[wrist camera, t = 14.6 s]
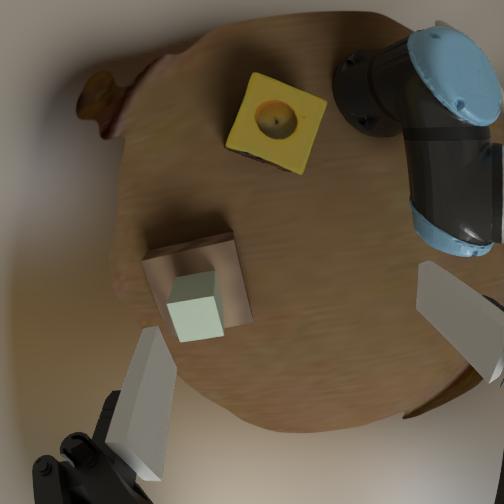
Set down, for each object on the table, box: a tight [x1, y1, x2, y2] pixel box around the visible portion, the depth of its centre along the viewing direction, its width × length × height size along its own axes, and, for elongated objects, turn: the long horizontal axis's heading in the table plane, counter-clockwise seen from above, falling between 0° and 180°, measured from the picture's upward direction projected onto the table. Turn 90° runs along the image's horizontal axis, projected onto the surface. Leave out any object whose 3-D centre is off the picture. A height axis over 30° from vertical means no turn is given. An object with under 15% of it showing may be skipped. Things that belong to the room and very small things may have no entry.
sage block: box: [167, 270, 224, 342], centre depth 40 cm, size 6×6×8 cm
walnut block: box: [141, 231, 253, 338], centre depth 46 cm, size 14×14×5 cm
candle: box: [224, 72, 327, 175], centre depth 36 cm, size 10×10×10 cm
